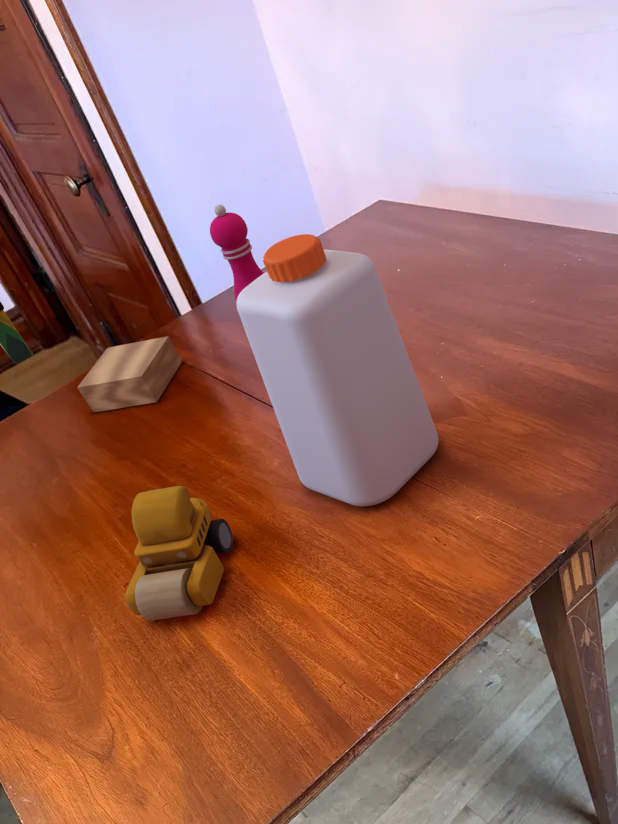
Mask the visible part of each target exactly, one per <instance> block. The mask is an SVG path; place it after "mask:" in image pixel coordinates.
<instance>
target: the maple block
mask: <svg viewBox="0 0 618 824" xmlns="http://www.w3.org/2000/svg"><path fill="white" fill-rule="evenodd" d="M182 362H183V361H182V359H181V357H180V356H179V353H178V351H177V349H176V347H175V346H174V344H173V342H172V341H171V338H170V336H168V335H167V336H162V337H157V338H151V339H147V340H141V341H136V342H131V343H126V344H119V345H115V346H109V347H107V348H106V349H105V350H104V351H103V353H101V355H100V356H99V358H98V359H97V361H96V362H95V363H94V365H92V367H91V369H90V370H89V371H88V372H87V373H86V375H85V376H84V378H83V379H82V380H81V382H79V384H78V386H77V390H78V391H79V392H80V394H81V396H82V397H83V399H84V400H85V402H86V403H87V405H88V406H89V408H90V410H91V411H92V412H93V413H100V412H106V411H111V410H118V409H119V410H120V409H125V408H130V407H135V406H136V407H137V406H143V405H148V404H153V403H158V401H159V400H160V398H161V396H162V395H163V394H164V392H165V391H166V388H167V387H168V386H169V384H170V382H171V380H172V378H173V377H174V375H175V374H176V372H177V370H178V369H179V367H180V366H181V363H182Z"/></svg>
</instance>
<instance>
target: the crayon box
mask: <svg viewBox="0 0 618 824" xmlns="http://www.w3.org/2000/svg"><path fill="white" fill-rule="evenodd" d="M0 347H1V348H2V349H3V350H4V352H5V353H6V354H7V356H8V357H9V358H10V359H11V361H12V363H14V364H15V365H16V364H19V363H21V362H23V361H25V360H27V359H28V358H30V357H32V356H34V353H33V352H32V350H31V349H30V347H29V346H28V344H27V343H26V341H25V340H24V339H23V337H22V335H21V334H20V332H19V331H18V329H17V328H16V326H15V325H14V324H13V322H12V320H11V319H10V318H9V316H8V315H7V313H6V312H5V309H4V310H2V311H0Z"/></svg>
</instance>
